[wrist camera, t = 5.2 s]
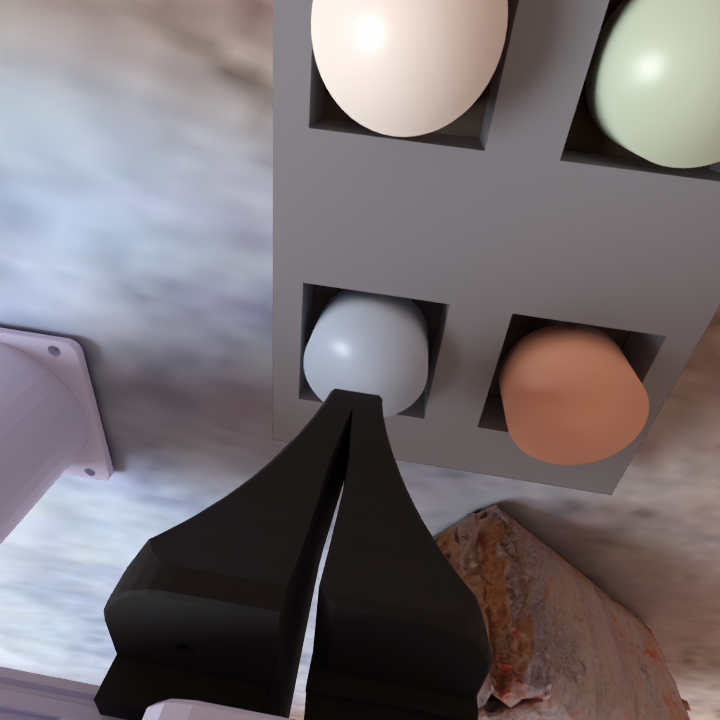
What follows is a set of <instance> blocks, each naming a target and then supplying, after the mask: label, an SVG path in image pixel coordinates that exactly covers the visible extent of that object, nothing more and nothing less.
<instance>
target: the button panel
mask: <svg viewBox="0 0 720 720" xmlns="http://www.w3.org/2000/svg"><path fill="white" fill-rule="evenodd" d="M312 3H313V0H273V439H274V440H280V441H286V442H291V441H292V440H293V439H294V438H295V437H296V436H297V435H298V434H299V433H300V432H301V430H302V429H303V428H304V427H305V426H306V424H307V423H308V422H309V421H310V420H311V419H312V417H313V416H314V415H315V414H316V412H317V411H318V410H319V408H320V407H321V406H322V404H323V403H324V402H323V401H322V400H321V399H320V398H319V397H318V396H317V395H316V394H315V393H314V391H313V390H312V388H311V387H310V385H309V383H308V381H307V378H306V376H305V371H304V361H303V360H304V353H305V350H306V347H307V344H308V342H309V340H310V337H311V335H312V326H313V307H314V288H315V285H322V286H329V287H336V288H343V289H349V290H356V291H363V292H370V293H377V294H383V295H390V296H397V297H404V298H410V299H417V300H424V301H431V302H438V303H443V306H442V311H441V316H440V320H439V325H438V330H437V334H436V339H435V343H434V348H433V353H432V357H431V362H430V366H429V371H428V376H427V382H426V385H425V387H424V390H423V392H422V393H421V395H420V396H419V398H418V399H417V400H416V401H415V402H414V403H413V404H412V405H411V406H409V407H408V408H407V409H405V410H403V411H402V412H399V413H397V414H395V415H392V416H389V417H384V421H385V426H386V431H387V435H388V439H389V442H390V445H391V449H392V452H393V455H394V458H395V460H401V461H408V462H414V463H420V464H426V465H432V466H438V467H444V468H450V469H456V470H462V471H468V472H474V473H480V474H486V475H492V476H499V477H505V478H511V479H517V480H523V481H529V482H535V483H541V484H547V485H553V486H559V487H565V488H571V489H577V490H584V491H590V492H596V493H602V494H608V495H612V493H613V491H614V490H615V488H616V486H617V484H618V483H619V481H620V479H621V477H622V476H623V474H624V472H625V470H626V469H627V467H628V465H629V463H630V462H631V460H632V458H633V456H634V455H635V453H636V451H637V449H638V447H639V446H640V444H641V442H642V440H643V439H644V437H645V435H646V433H647V432H648V430H649V428H650V426H651V425H652V423H653V421H654V419H655V418H656V416H657V414H658V412H659V411H660V409H661V407H662V405H663V404H664V402H665V400H666V398H667V397H668V395H669V393H670V391H671V390H672V388H673V386H674V384H675V383H676V381H677V379H678V377H679V376H680V374H681V372H682V370H683V369H684V367H685V365H686V363H687V362H688V360H689V358H690V356H691V354H692V353H693V351H694V349H695V347H696V346H697V344H698V342H699V340H700V339H701V337H702V335H703V333H704V332H705V330H706V328H707V326H708V325H709V323H710V321H711V319H712V318H713V316H714V314H715V312H716V311H717V309H718V307H719V305H720V162H716V163H713V164H710V165H709V167H708V168H701V167H693V168H672V167H667V166H662V165H659V164H656V163H653V162H650V161H646V160H639V159H631V158H623V157H615V156H608V155H600V154H592V153H584V152H577V151H569V150H563V149H564V145H565V142H566V139H567V136H568V132H569V129H570V126H571V123H572V120H573V116H574V113H575V110H576V107H577V103H578V100H579V97H580V94H581V90H582V87H583V84H584V81H585V77H586V74H587V71H588V68H589V65H590V61H591V58H592V55H593V52H594V48H595V45H596V42H597V39H598V35H599V32H600V29H601V26H602V23H603V19H604V16H605V13H606V10H607V6H608V3H609V0H509V2H508V20H507V30H506V36H505V42H504V46H503V50H502V53H501V57H500V59H499V62H498V64H497V67H496V69H495V72H494V74H493V76H492V81H491V85H490V90H489V95H488V99H487V104H486V108H485V113H484V118H483V122H482V127H481V131H480V136H479V139H476V138H468V137H460V136H453V135H445V134H437V133H427V134H423V135H418V136H410V137H397V136H390V135H385V134H381V133H378V132H375V131H372V130H370V129H368V128H366V127H364V126H362V125H361V124H359V123H352V122H344V121H336V120H329V119H323V116H324V97H325V84H324V81H323V79H322V77H321V75H320V72H319V69H318V66H317V64H316V60H315V55H314V51H313V45H312V37H311V13H312ZM512 314H519V315H526V316H533V317H540V318H546V319H553V320H560V321H567V322H574V323H580V324H587V325H594V326H601V327H608V328H614V329H621V330H628V331H631V332H630V334H629V336H628V338H627V341H626V343H625V345H624V347H623V349H622V353H623V354H624V356H625V357H626V359H627V361H628V362H629V364H630V366H631V367H632V369H633V370H634V372H635V374H636V375H637V377H638V378H639V380H640V382H641V383H642V385H643V386H644V388H645V390H646V392H647V396H648V399H649V414H648V417H647V421H646V423H645V425H644V427H643V429H642V430H641V432H640V433H639V435H638V436H637V437H636V438H635V439H634V440H633V441H632V442H631V443H630V444H629V445H628V446H626V447H625V448H624V449H622V450H621V451H619V452H617V453H616V454H614V455H612V456H609V457H607V458H605V459H602V460H599V461H596V462H592V463H587V464H581V465H558V464H551V463H547V462H544V461H540V460H538V459H536V458H533V457H531V456H530V455H528V454H526V453H525V452H524V451H522V450H521V449H520V448H519V447H518V446H517V445H516V444H515V442H514V441H513V439H512V438H511V436H510V434H509V431H508V427H507V422H506V417H505V412H504V407H503V402H502V398H496V397H490V396H487V394H488V391H489V388H490V385H491V381H492V378H493V375H494V372H495V369H496V365H497V362H498V359H499V356H500V352H501V349H502V346H503V343H504V339H505V336H506V333H507V330H508V327H509V323H510V320H511V317H512Z"/></svg>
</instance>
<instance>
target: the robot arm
mask: <svg viewBox="0 0 720 720" xmlns="http://www.w3.org/2000/svg"><path fill="white" fill-rule="evenodd" d="M56 347H57V348H58V349H59V350H60V351H59V350H58V349H56ZM382 401H383V399H382V398H381V397H380V396H379V395H374V394H367V393H361V392H355V391H348V390H342V389H336V388H335V389H334V390H332V391H331V392H330V393H329V395H328V397H327V398H326V400H325V401H324V403H323V404H322V406H321V407H320V408H319V410H318V411H317V412H316V414H315V415H314V416H313V417H312V419H311V420H310V421H309V422H308V423H307V424H306V426H305V427H304V428H303V429H302V430H301V432H300V433H299V434H298V435H297V436H296V437H295V438H294V439H293V440H292V441H291V442H290V443H289V444H288V445H287V446H286V447H285V448H284V449H283V450H282V451H281V452H280V453H279V454H278V455H277V456H276V457H275V458H274V459H273V460H272V461H271V462H270V463H268V464H267V465H266V466H265V467H264V468H263V469H261V470H260V471H259V472H258V473H257V474H255V475H254V476H253V477H252V478H250V479H249V480H248V481H246V482H245V483H244V484H242V485H241V486H240V487H238V488H237V489H236V490H234V491H233V492H231V493H230V494H229V495H227V496H226V497H224V498H223V499H221V500H219V501H218V502H216V503H215V504H213V505H211V506H210V507H208V508H207V509H205V510H203V511H202V512H200V513H199V514H197V515H195V516H194V517H192V518H190V519H188V520H186V521H185V522H183V523H181V524H179V525H177V526H175V527H173V528H171V529H169V530H167V531H165V532H163V533H161V534H159V535H157V536H155V537H153V538H151V539H149V540H148V541H147V543H146V544H145V545H144V546H143V548H142V549H141V550H140V551H139V553H138V554H137V555H136V557H135V558H134V559H133V561H132V562H131V563H130V565H129V566H128V567H127V569H126V571H125V572H124V574H123V575H122V577H121V579H120V581H119V582H118V584H117V586H116V587H115V589H114V591H113V593H112V594H111V596H110V598H109V600H108V601H107V604H106V606H105V608H104V616H105V621H106V624H107V627H108V630H109V633H110V636H111V638H112V641H113V644H114V647H115V650H116V652H117V655H116V657H115V659H114V661H113V663H112V665H111V667H110V669H109V671H108V673H107V675H106V676H105V678H104V680H103V682H102V684H101V686H97V685H92V684H87V683H82V682H77V681H71V680H66V679H61V678H56V677H51V676H46V675H41V674H35V673H30V672H25V671H20V670H15V669H10V668H5V667H0V720H294V719H289V715H290V710H291V704H292V699H293V694H294V689H295V683H296V678H297V673H298V668H299V663H300V658H301V652H302V647H303V642H304V637H305V632H306V627H307V622H308V617H309V612H310V607H311V602H312V597H313V592H314V587H315V582H316V577H317V573H318V568H319V563H320V559H321V556H322V552H323V548H324V545H325V542H326V538H327V535H328V532H329V528H330V525H331V522H332V519H333V515H334V512H335V509H336V505H337V502H338V499H339V495H340V492H341V489H342V485H343V482H344V488H343V492H342V497H341V501H340V505H339V510H338V514H337V518H336V522H335V527H334V531H333V535H332V539H331V543H330V547H329V551H328V555H327V559H326V562H325V566H324V570H323V574H322V578H321V581H320V585H319V593H318V604H317V615H316V626H315V636H314V647H313V654H312V659H311V664H310V669H309V674H308V679H307V684H306V702H305V714H304V720H478V702H477V695H478V693H479V691H480V689H481V687H482V685H483V683H484V682H485V680H486V678H487V676H488V674H489V672H490V668H491V664H492V658H491V649H490V643H489V638H488V634H487V629H486V626H485V622H484V618H483V615H482V612H481V609H480V605H479V602H478V600H477V597H476V596H475V595H474V593H473V592H472V591H471V590H470V589H469V587H468V586H467V585H466V584H465V582H464V581H463V580H462V578H461V577H460V576H459V575H458V573H457V572H456V571H455V569H454V568H453V567H452V565H451V564H450V562H449V561H448V560H447V558H446V557H445V555H444V554H443V552H442V551H441V550H440V548H439V546H438V545H437V543H436V542H435V540H434V538H433V537H432V535H431V533H430V532H429V530H428V529H427V527H426V525H425V524H424V522H423V520H422V519H421V517H420V515H419V513H418V511H417V509H416V507H415V505H414V504H413V501H412V499H411V497H410V495H409V493H408V491H407V489H406V487H405V484H404V482H403V479H402V477H401V475H400V472H399V469H398V467H397V464H396V461H395V458H394V455H393V452H392V449H391V445H390V442H389V439H388V435H387V431H386V426H385V421H384V416H383V406H382ZM62 473H63V474H69V475H74V476H80V477H86V478H92V479H98V480H108V479H109V478H110V477H111V476H112V474H113V473H114V470H113V466H112V462H111V458H110V454H109V450H108V446H107V442H106V438H105V435H104V431H103V427H102V423H101V419H100V415H99V411H98V407H97V403H96V399H95V396H94V392H93V388H92V384H91V380H90V376H89V372H88V368H87V364H86V360H85V357H84V353H83V350H82V347H81V346H80V345H79V343H78V342H76V341H74V340H72V339H69V338H64V337H57V336H51V335H45V334H38V333H32V332H25V331H19V330H13V329H6V328H0V544H1V543H2V542H3V541H4V540H5V538H6V537H7V536H8V535H9V534H10V533H11V532H12V530H13V529H14V528H15V527H16V526H17V525H18V523H19V522H20V521H21V520H22V519H23V518H24V517H25V515H26V514H27V513H28V512H29V511H30V510H31V509H32V507H33V506H34V505H35V504H36V503H37V502H38V501H39V499H40V498H41V497H42V496H43V495H44V494H45V493H46V491H47V490H48V489H49V488H50V487H51V486H52V485H53V483H54V482H55V481H56V480H57V479H58V478H59V477H60V475H61V474H62Z"/></svg>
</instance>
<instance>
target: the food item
mask: <svg viewBox="0 0 720 720" xmlns="http://www.w3.org/2000/svg"><path fill="white" fill-rule="evenodd" d="M433 538H434V540H435V542H436V543H437V545H438V546H439V548H440V550H441V551H442V552H443V554H444V555H445V557H446V558H447V560H448V561H449V562H450V564H451V565H452V567H453V568H454V569H455V571H456V572H457V573H458V575H459V576H460V577H461V578H462V580H463V581H464V582H465V584H466V585H467V586H468V587H469V589H470V590H471V591H472V592H473V593H474V595H475V596H476V597H477V600H478V602H479V605H480V609H481V612H482V615H483V618H484V622H485V626H486V629H487V634H488V638H489V643H490V649H491V658H492V664H491V668H490V672H489V674H488V676H487V678H486V680H485V682H484V683H483V685H482V687H481V689H480V691H479V693H478V695H477V702H478V720H690V718H689V716H688V713H687V710H690V707H689V705H688V702H687V701H685V700H683V699H681V697H680V694H679V691H678V689H677V686H676V683H675V681H674V679H673V677H672V676H671V674H670V672H669V670H668V667H667V664H666V661H665V658H664V656H663V654H662V652H661V649H660V647H659V645H658V643H657V642H656V640H655V638H654V636H653V634H652V632H651V630H650V629H649V628H648V627H647V626H646V625H645V624H644V623H643V622H641V621H640V620H638V619H637V618H636V617H635V616H634V615H632V614H631V613H630V612H629V611H628V610H627V609H626V608H624V607H623V606H622V605H620V604H619V603H617V602H616V601H614V600H613V599H611V598H610V597H609V596H608V595H607V594H605V593H604V592H603V591H602V590H601V589H600V588H599V587H598V586H596V585H595V584H594V583H593V582H591V581H590V580H589V579H587V578H586V577H585V576H584V575H583V574H582V573H580V572H579V571H578V570H577V569H576V568H574V567H573V566H572V565H570V564H569V563H568V562H567V561H565V560H564V559H563V558H562V557H561V556H560V555H558V554H557V553H556V552H555V551H553V550H552V549H551V548H550V547H549V546H547V545H546V544H545V543H543V542H541V541H540V540H539V539H538V538H536V537H535V536H534V535H533V534H532V533H531V532H529V531H527V530H526V529H525V528H523V527H522V526H521V525H520V524H519V523H518V522H517V521H515V520H514V519H513V518H512V517H510V516H509V515H508V514H507V513H505V512H503V511H502V510H500V509H499V508H498V506H497V505H494V506H491V507H488V508H486V509H484V510H480V512H479V513H472V514H469V515H467V516H466V517H464V518H463V519H461V520H460V521H459V522H458V523H456V524H455V525H454V526H452V527H450V528H448V529H446V530H445V531H443V532H441V533H440V534H438V535H436V536H435V537H433ZM686 709H687V710H686ZM690 711H691V710H690Z"/></svg>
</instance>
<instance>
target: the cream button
mask: <svg viewBox="0 0 720 720" xmlns="http://www.w3.org/2000/svg"><path fill="white" fill-rule="evenodd" d="M507 20H508V1H507V0H313V3H312V13H311V37H312V45H313V51H314V55H315V60H316V64H317V66H318V69H319V72H320V75H321V77H322V79H323V81H324V84H325V86H326V88H327V89H328V91H329V93H330V94H331V96H332V97H333V99H334V100H335V101H336V103H337V104H338V105H339V106H340V107H341V109H342V110H343V111H344V112H346V113H347V114H348V115H349V116H350V117H351V118H352V119H354V120H355V121H356V122H358V123H359V124H361V125H362V126H364V127H366V128H368V129H370V130H372V131H375V132H378V133H381V134H385V135H390V136H397V137H410V136H418V135H423V134H427V133H430V132H433V131H435V130H438V129H440V128H442V127H444V126H446V125H448V124H450V123H451V122H453V121H454V120H455V119H457V118H458V117H460V116H461V115H462V114H463V113H464V112H465V111H466V110H468V109H469V108H470V107H471V106H472V105H473V103H474V102H475V101H476V100H477V99H478V98H479V96H480V95H481V94H482V92H483V91H484V89H485V88H486V86H487V85H488V83H489V81H490V79H491V77H492V75H493V74H494V72H495V69H496V67H497V64H498V62H499V59H500V57H501V53H502V50H503V46H504V42H505V36H506V30H507Z"/></svg>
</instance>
